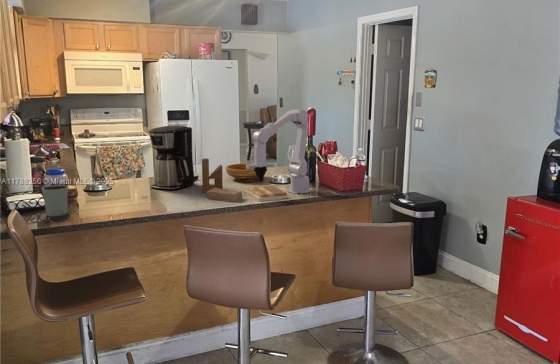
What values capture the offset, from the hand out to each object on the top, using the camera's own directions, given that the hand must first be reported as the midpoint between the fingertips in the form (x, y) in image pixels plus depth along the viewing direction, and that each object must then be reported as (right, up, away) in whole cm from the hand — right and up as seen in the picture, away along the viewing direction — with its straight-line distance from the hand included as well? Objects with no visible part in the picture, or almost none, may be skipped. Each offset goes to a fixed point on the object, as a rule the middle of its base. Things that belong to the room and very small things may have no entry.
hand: (260, 182), depth 232 cm
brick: (-18, -9, 0) cm, 20 cm away
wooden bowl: (-11, +1, +48) cm, 50 cm away
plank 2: (+2, -7, +2) cm, 7 cm away
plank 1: (-2, -5, +10) cm, 11 cm away
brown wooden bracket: (-27, -5, +17) cm, 32 cm away
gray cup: (-89, -14, -28) cm, 94 cm away
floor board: (+3, -7, +7) cm, 11 cm away
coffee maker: (-47, -2, +30) cm, 56 cm away
